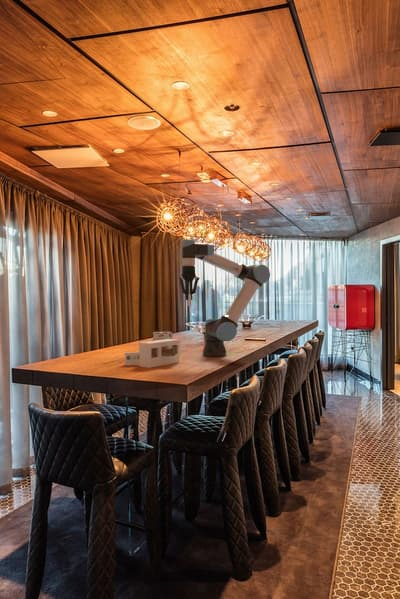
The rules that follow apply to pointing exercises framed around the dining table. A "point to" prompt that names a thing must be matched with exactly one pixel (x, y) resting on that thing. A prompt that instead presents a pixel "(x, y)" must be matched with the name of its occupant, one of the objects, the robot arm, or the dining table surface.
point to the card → (132, 358)
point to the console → (159, 360)
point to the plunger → (153, 352)
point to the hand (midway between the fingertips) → (189, 305)
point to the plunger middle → (168, 351)
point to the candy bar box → (162, 335)
